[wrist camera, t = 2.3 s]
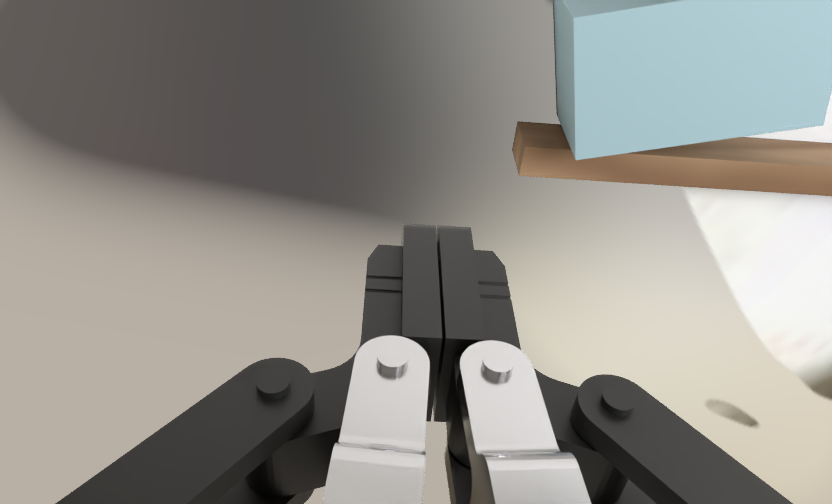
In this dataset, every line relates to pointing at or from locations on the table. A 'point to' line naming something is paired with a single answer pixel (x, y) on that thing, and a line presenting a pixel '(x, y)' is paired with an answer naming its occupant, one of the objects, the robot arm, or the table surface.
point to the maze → (683, 163)
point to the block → (688, 70)
